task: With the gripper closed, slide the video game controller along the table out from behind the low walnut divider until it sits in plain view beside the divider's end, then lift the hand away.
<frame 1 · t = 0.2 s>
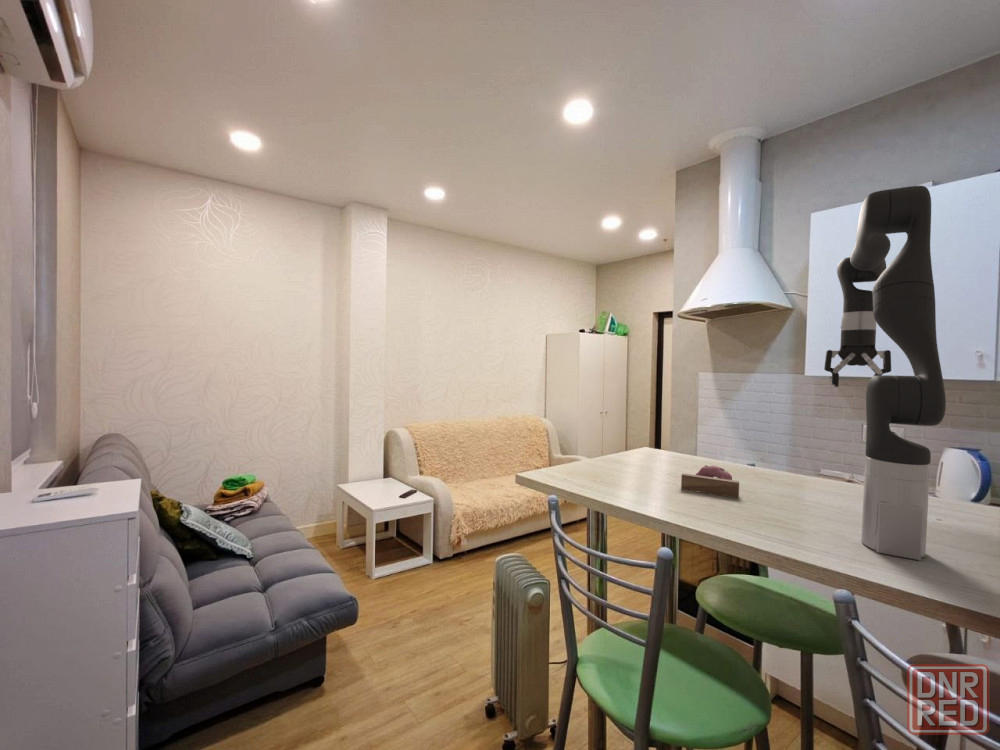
hand: (855, 387, 122), 29 cm above the table, tool pointing down, fingers open, 8 cm apart
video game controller: (711, 487, 125), on the table
walnut divider: (709, 492, 119), on the table
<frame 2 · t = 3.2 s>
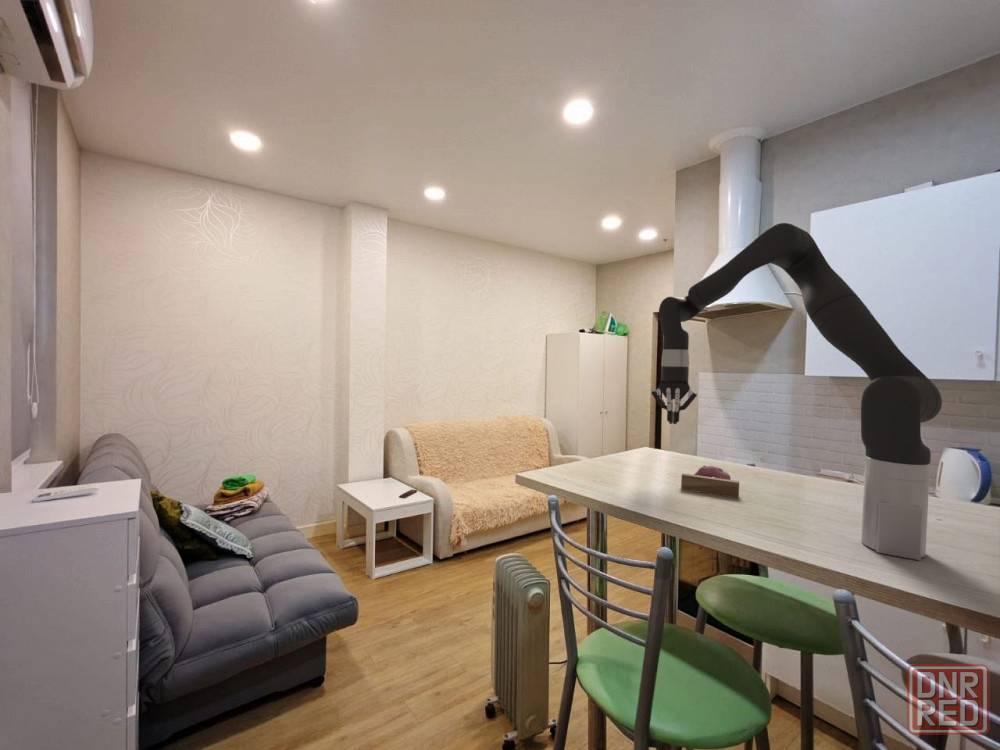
hand: (673, 423, 130), 17 cm above the table, tool pointing down, fingers closed
nothing on the table moved.
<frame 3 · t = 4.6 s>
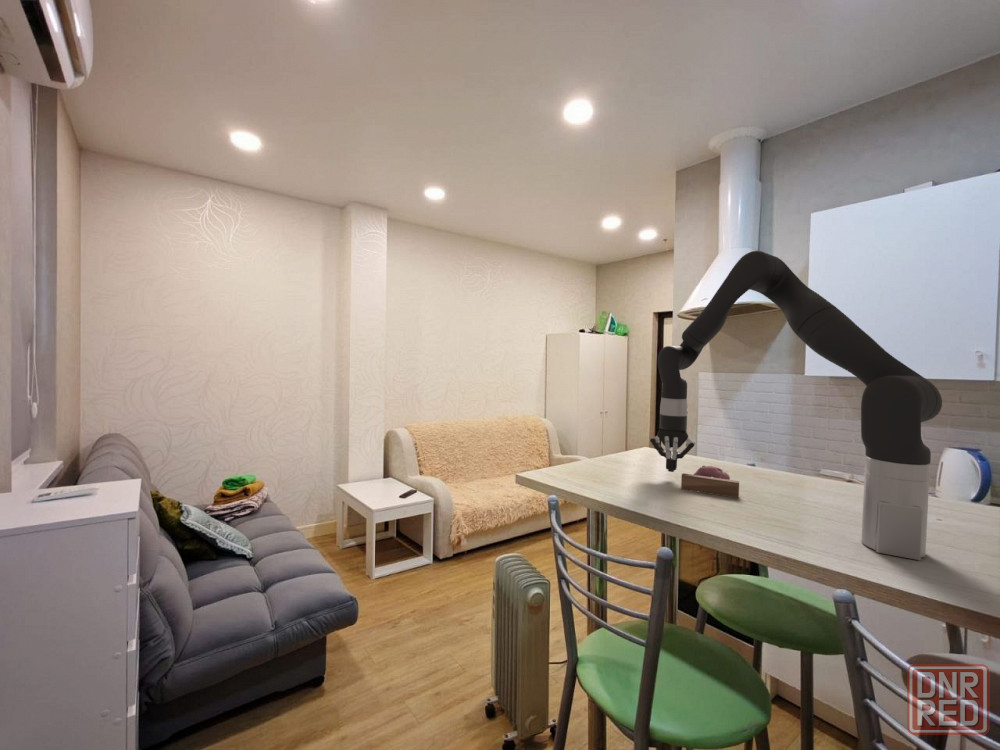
hand: (671, 471, 131), 3 cm above the table, tool pointing down, fingers closed
nothing on the table moved.
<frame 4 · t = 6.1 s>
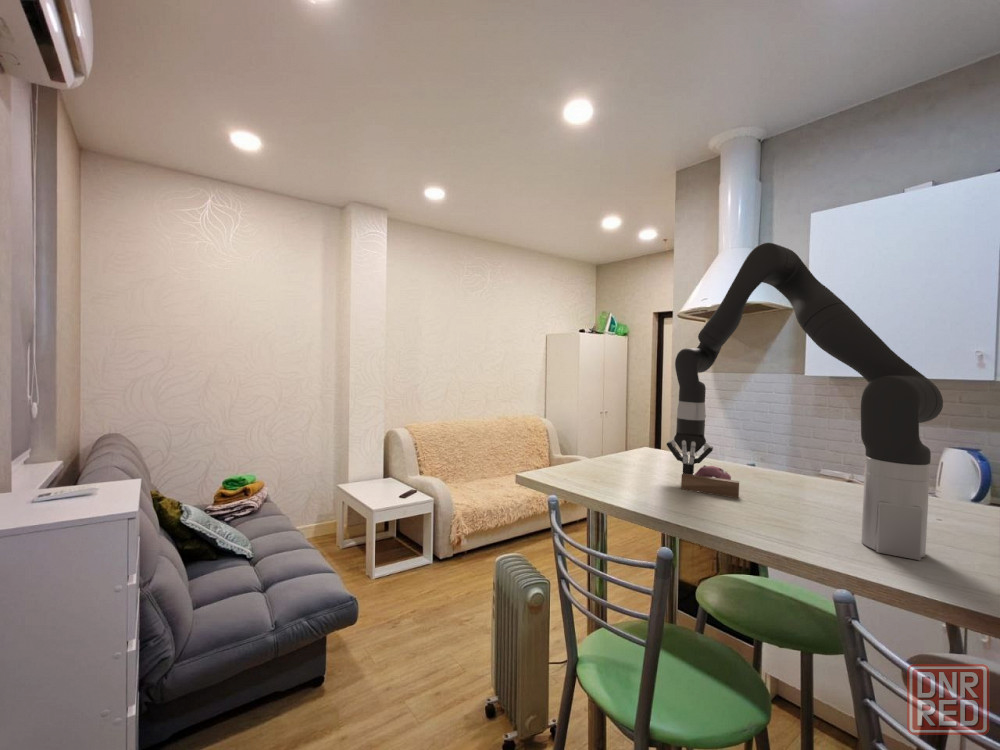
hand: (688, 476, 128), 2 cm above the table, tool pointing down, fingers closed
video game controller: (710, 487, 125), on the table, touching gripper
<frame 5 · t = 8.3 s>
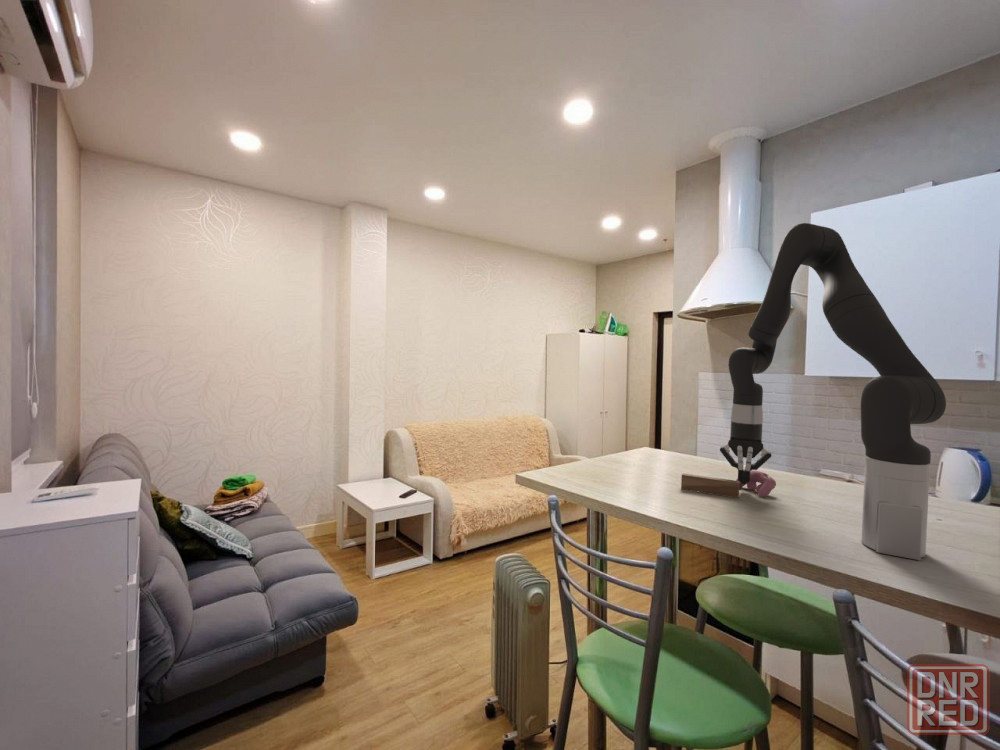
hand: (743, 483, 121), 2 cm above the table, tool pointing down, fingers closed
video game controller: (754, 493, 121), on the table, touching gripper
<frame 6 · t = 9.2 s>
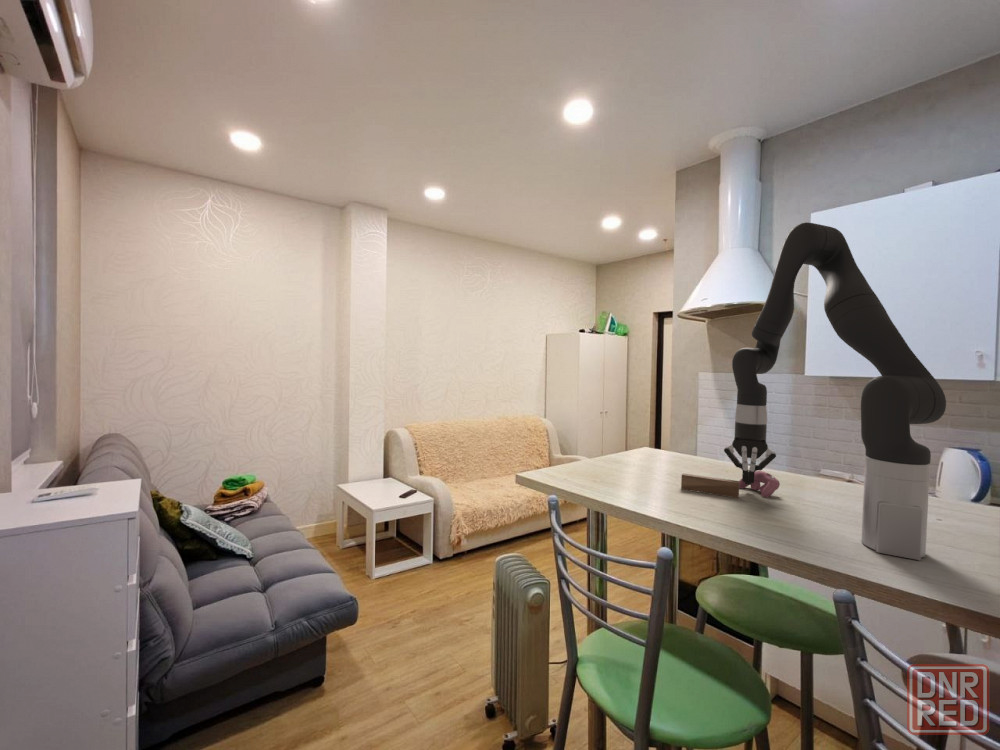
hand: (748, 483, 121), 2 cm above the table, tool pointing down, fingers closed
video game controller: (757, 493, 121), on the table
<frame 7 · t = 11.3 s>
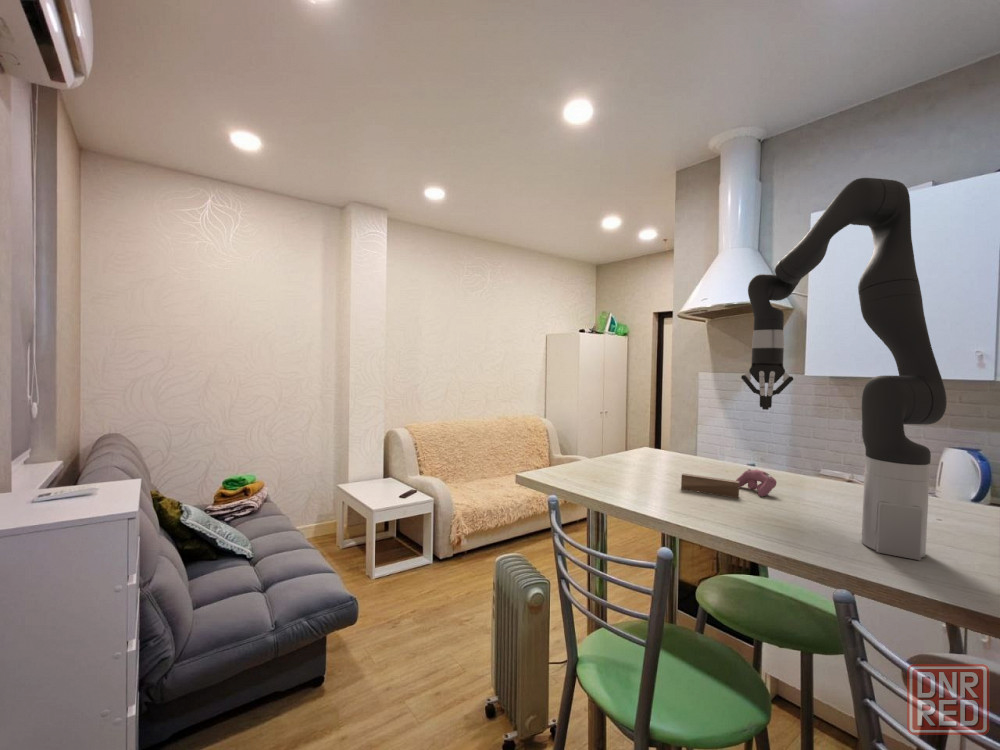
hand: (765, 409, 122), 23 cm above the table, tool pointing down, fingers closed
nothing on the table moved.
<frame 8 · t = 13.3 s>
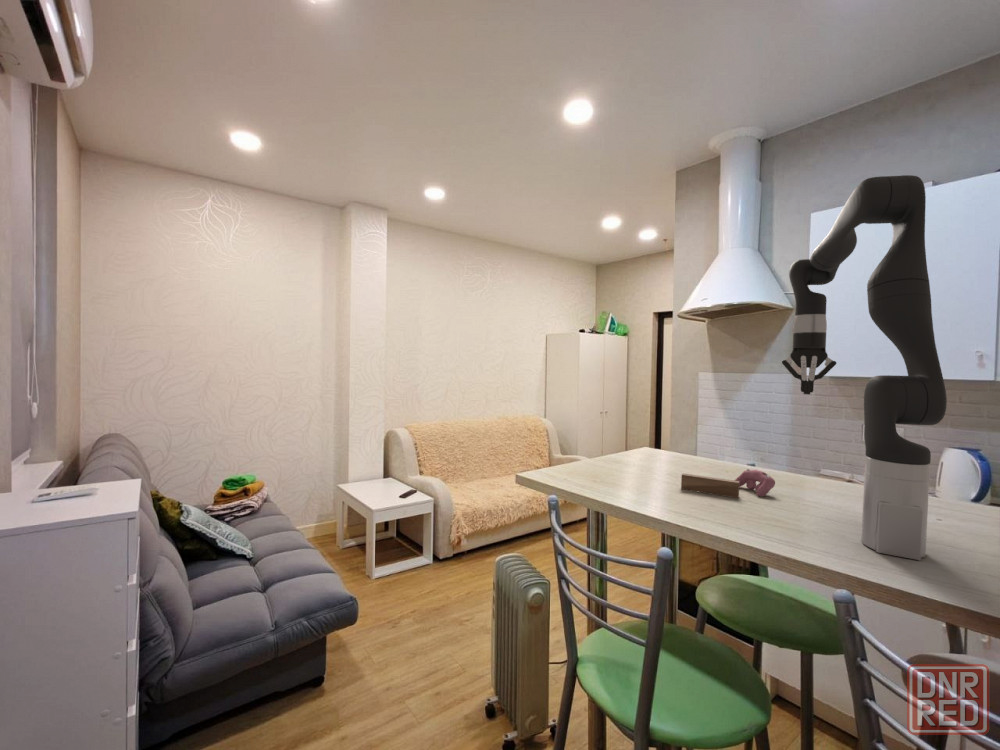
hand: (806, 394, 122), 27 cm above the table, tool pointing down, fingers closed
at the end: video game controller inside the target area (7.0 cm from its centre), on the table; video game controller moved 10.4 cm from its start; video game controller tilted 0° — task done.
